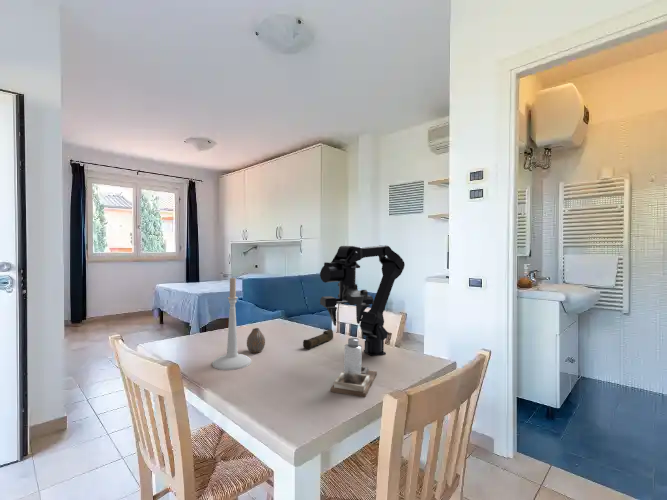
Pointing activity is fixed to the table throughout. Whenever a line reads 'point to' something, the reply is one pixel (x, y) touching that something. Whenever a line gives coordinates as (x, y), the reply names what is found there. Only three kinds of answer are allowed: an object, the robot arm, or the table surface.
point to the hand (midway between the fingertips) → (346, 324)
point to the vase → (255, 341)
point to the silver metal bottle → (352, 362)
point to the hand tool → (318, 339)
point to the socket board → (355, 389)
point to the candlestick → (232, 339)
